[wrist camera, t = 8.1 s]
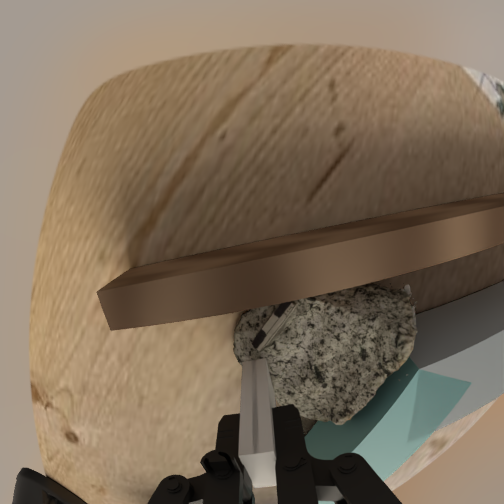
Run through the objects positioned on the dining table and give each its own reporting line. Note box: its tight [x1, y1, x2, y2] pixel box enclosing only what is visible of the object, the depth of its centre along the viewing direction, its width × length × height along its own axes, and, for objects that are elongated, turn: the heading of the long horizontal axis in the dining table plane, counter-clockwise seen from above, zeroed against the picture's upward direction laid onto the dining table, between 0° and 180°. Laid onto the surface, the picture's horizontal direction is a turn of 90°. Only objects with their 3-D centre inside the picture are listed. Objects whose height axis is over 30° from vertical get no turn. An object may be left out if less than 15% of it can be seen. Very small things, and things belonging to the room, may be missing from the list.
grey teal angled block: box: [304, 281, 504, 504], centre depth 15 cm, size 21×15×5 cm
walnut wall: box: [97, 193, 504, 331], centre depth 13 cm, size 28×2×4 cm, turn 102°
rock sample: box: [233, 283, 418, 425], centre depth 15 cm, size 10×8×9 cm
